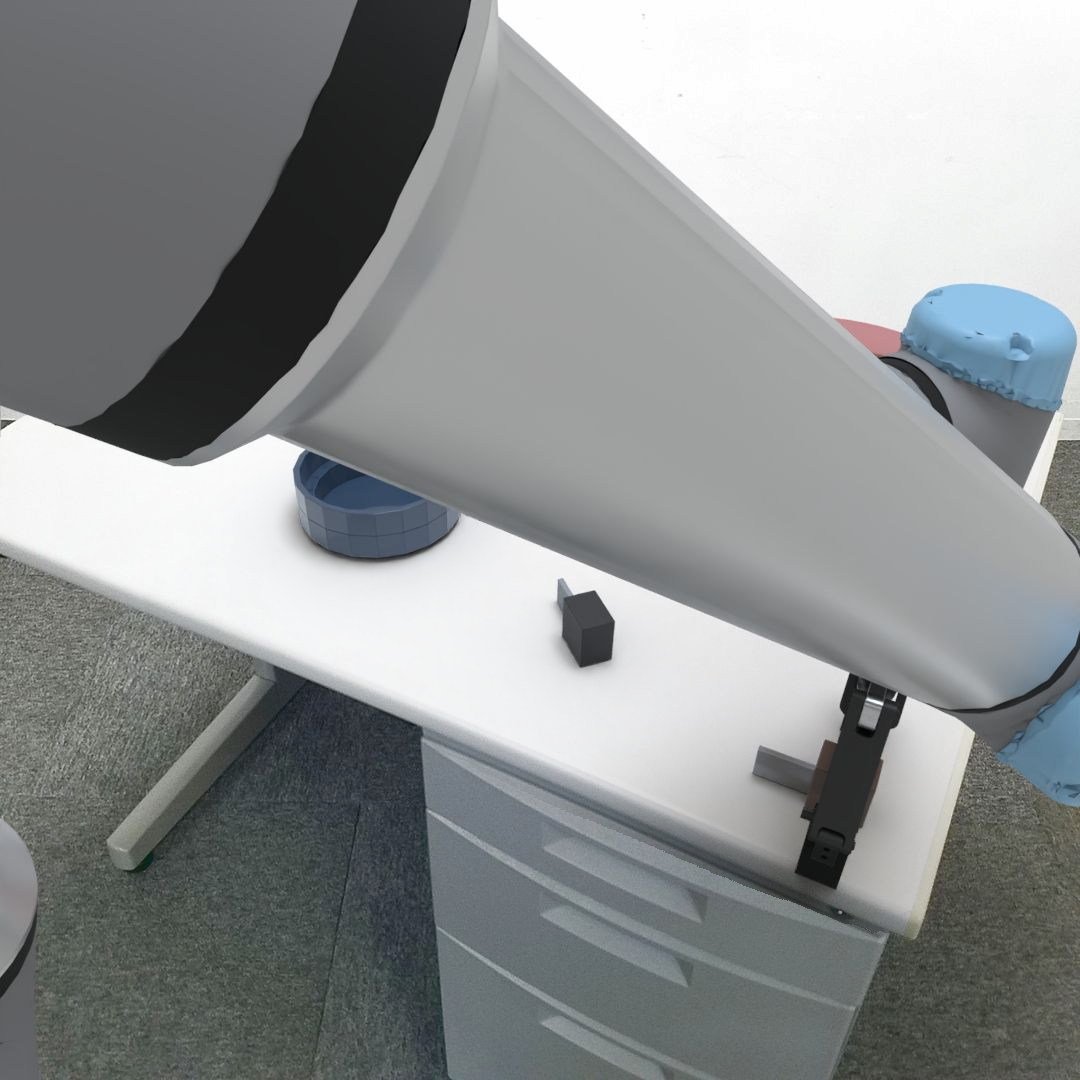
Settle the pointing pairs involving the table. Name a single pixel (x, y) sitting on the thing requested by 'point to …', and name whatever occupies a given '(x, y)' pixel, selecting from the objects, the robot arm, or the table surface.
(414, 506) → the bowl
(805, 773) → the blade walnut
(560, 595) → the cube with grey tab
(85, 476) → the table surface
